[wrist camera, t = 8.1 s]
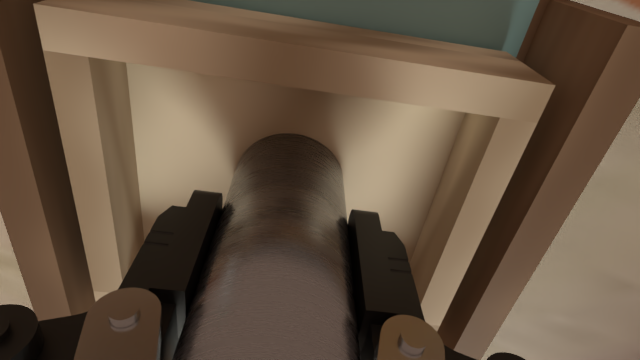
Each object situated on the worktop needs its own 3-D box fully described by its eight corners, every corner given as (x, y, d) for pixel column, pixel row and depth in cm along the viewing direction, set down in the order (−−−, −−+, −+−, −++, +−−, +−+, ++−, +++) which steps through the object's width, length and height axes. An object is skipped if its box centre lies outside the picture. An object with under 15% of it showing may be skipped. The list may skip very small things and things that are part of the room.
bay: (570, 0, 13) (715, 45, 8) (372, 439, 28) (383, 545, 23) (37, -94, 11) (-158, -105, 7) (131, 421, 26) (91, 529, 22)
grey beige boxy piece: (506, 51, 12) (812, 261, 5) (415, 282, 18) (489, 556, 10) (97, -15, 11) (-362, 114, 4) (131, 251, 17) (-28, 530, 9)
